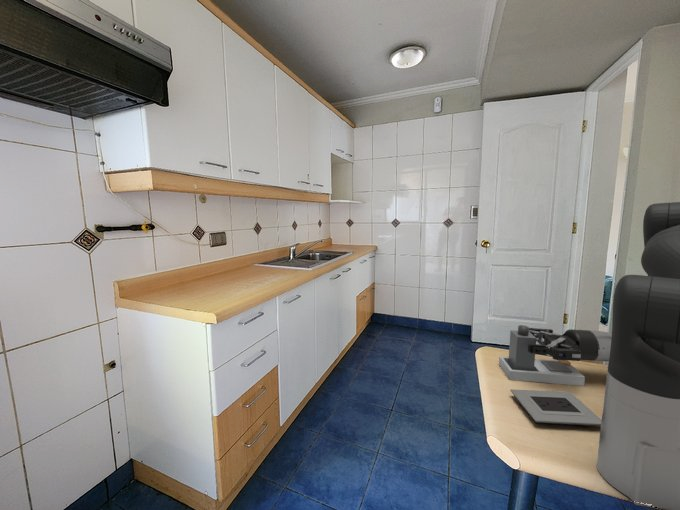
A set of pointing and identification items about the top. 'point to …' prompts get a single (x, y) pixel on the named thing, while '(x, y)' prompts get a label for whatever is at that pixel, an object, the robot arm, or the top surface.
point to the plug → (521, 349)
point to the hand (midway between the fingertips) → (521, 341)
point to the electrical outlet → (556, 407)
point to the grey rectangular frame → (545, 372)
